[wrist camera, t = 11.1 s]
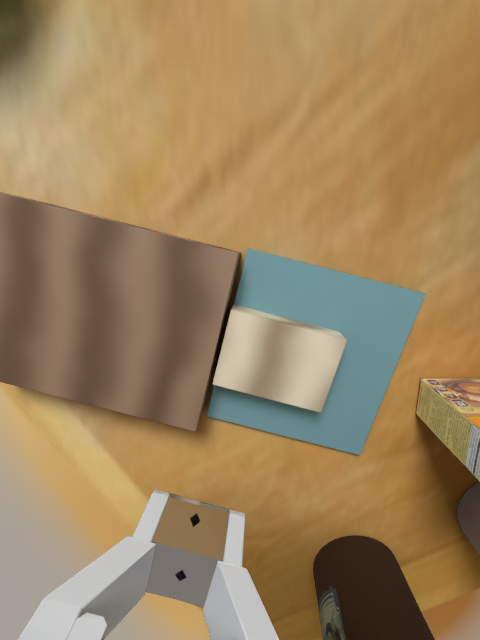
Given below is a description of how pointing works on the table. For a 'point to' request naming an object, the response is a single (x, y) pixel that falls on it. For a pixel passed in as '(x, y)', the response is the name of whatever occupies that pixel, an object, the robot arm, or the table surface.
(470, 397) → the candy box
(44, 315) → the walnut board
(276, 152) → the table surface
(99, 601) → the robot arm
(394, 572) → the olive oil
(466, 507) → the pillar candle
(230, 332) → the cream block
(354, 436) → the teal mat
